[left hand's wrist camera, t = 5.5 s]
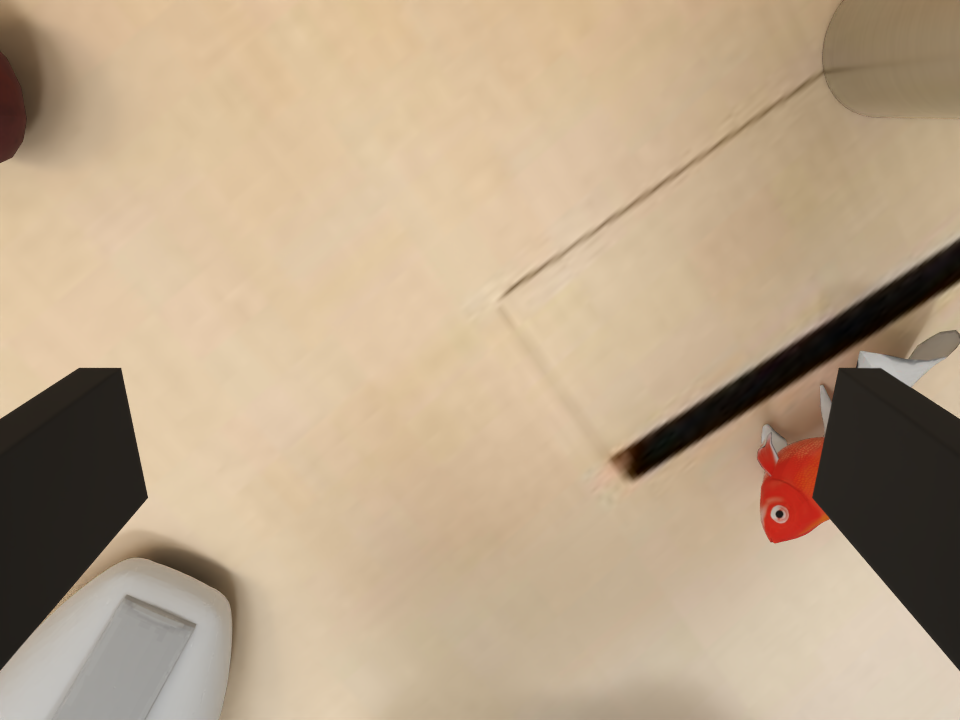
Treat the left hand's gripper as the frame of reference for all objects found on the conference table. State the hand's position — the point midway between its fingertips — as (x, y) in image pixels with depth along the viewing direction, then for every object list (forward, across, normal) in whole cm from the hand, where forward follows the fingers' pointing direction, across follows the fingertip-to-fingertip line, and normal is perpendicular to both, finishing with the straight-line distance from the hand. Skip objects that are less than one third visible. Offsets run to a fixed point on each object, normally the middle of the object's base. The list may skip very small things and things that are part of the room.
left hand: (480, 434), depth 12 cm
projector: (+28, +27, +34) cm, 52 cm away
